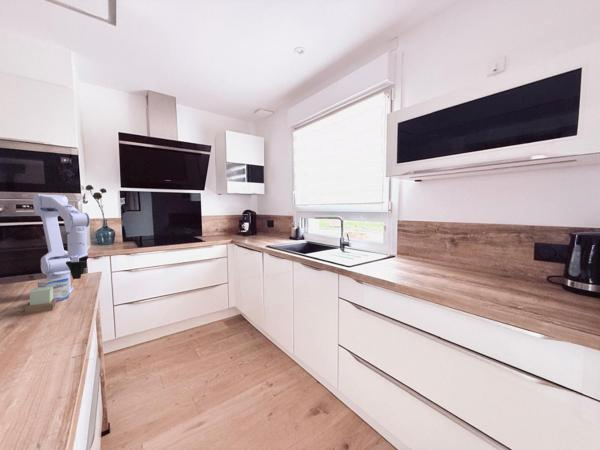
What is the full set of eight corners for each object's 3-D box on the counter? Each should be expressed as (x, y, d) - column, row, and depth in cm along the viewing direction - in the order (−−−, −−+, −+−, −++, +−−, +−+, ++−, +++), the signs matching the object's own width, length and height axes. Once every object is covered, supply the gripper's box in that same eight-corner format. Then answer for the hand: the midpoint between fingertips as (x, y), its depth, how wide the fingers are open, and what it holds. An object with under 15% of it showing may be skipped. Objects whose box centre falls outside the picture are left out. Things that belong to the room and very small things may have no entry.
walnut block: (29, 309, 91) (29, 301, 91) (55, 305, 96) (55, 297, 95) (24, 315, 86) (24, 307, 86) (53, 311, 90) (52, 303, 90)
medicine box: (46, 305, 94) (46, 283, 94) (38, 303, 95) (37, 282, 95) (69, 297, 102) (69, 277, 102) (61, 296, 103) (60, 276, 103)
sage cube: (34, 301, 91) (34, 288, 91) (53, 298, 94) (52, 286, 94) (30, 305, 87) (29, 292, 87) (49, 303, 90) (49, 289, 90)
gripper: (67, 241, 101) (67, 273, 102) (59, 246, 89) (60, 282, 90) (89, 240, 105) (90, 271, 106) (85, 245, 93) (86, 279, 94)
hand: (78, 276), depth 98 cm, fingers open, 7 cm apart
